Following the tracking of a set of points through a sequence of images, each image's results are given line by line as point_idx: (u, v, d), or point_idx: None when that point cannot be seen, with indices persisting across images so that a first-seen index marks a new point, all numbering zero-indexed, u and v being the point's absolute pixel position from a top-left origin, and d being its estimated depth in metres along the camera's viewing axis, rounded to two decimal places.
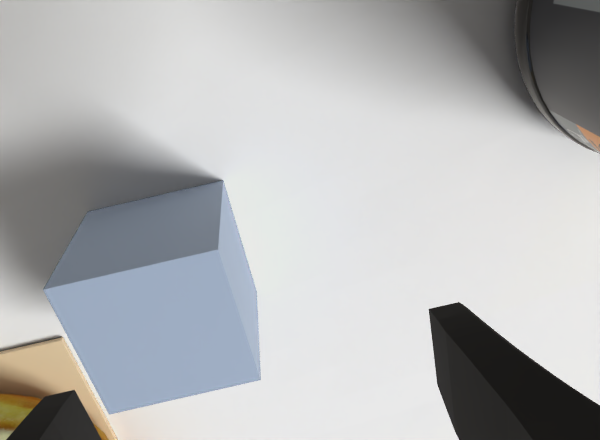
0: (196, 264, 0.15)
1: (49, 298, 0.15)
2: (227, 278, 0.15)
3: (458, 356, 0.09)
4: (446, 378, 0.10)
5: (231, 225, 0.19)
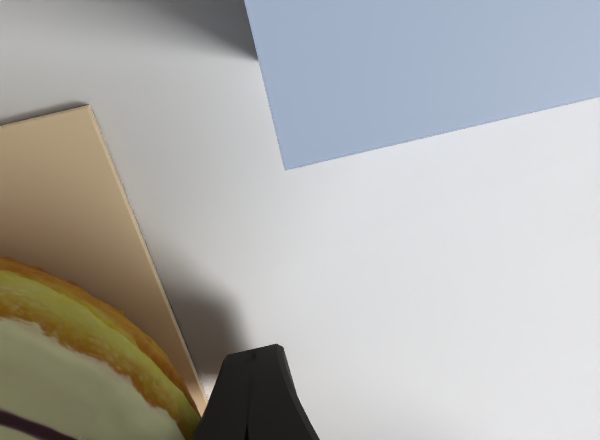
0: None
1: None
2: None
3: None
4: None
5: None
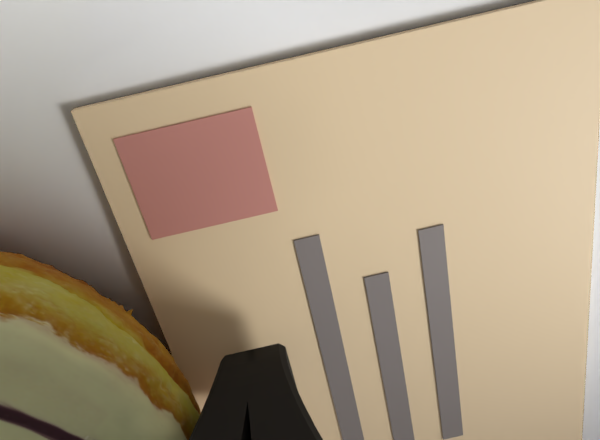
0: None
1: None
2: None
3: None
4: None
5: None
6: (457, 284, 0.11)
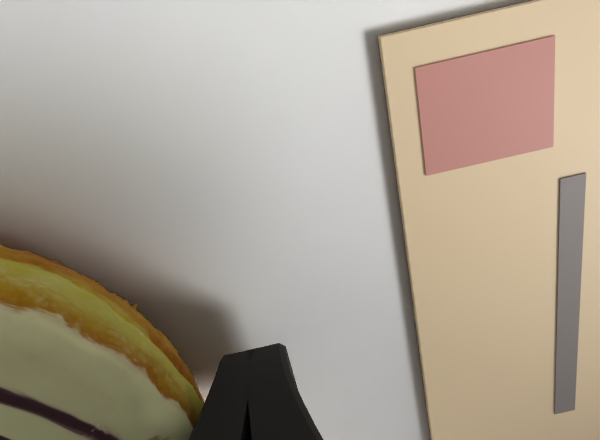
0: None
1: None
2: None
3: None
4: None
5: None
6: None
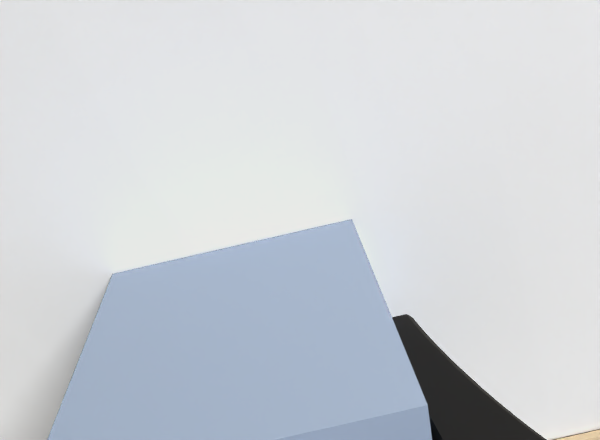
0: None
1: None
2: None
3: None
4: None
5: (161, 299, 0.10)
6: None
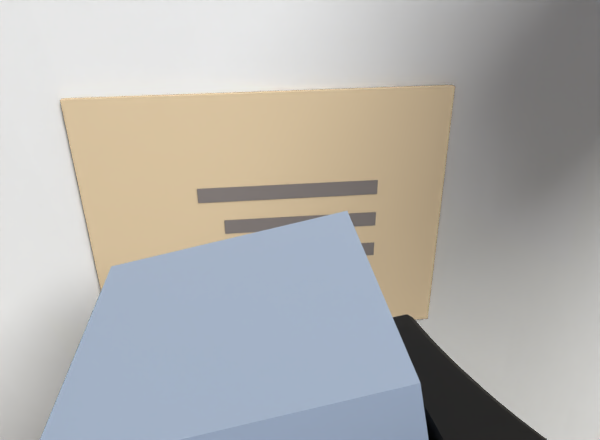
0: None
1: None
2: None
3: None
4: None
5: (159, 288, 0.10)
6: (242, 181, 0.18)
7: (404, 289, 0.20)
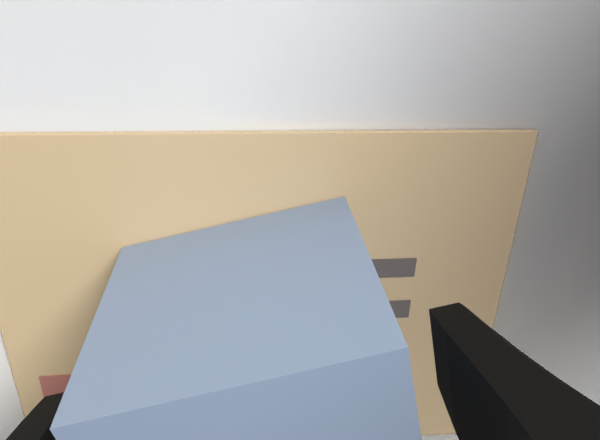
0: None
1: None
2: (124, 409, 0.07)
3: (458, 356, 0.09)
4: (446, 378, 0.10)
5: (168, 267, 0.11)
6: None
7: (441, 397, 0.15)
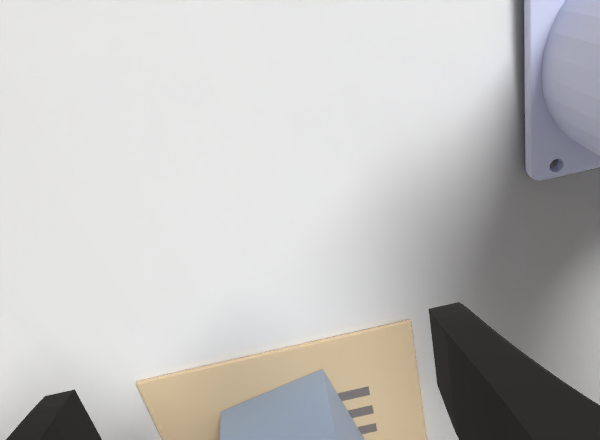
0: None
1: None
2: None
3: (458, 356, 0.09)
4: (446, 378, 0.10)
5: (245, 425, 0.23)
6: None
7: None
